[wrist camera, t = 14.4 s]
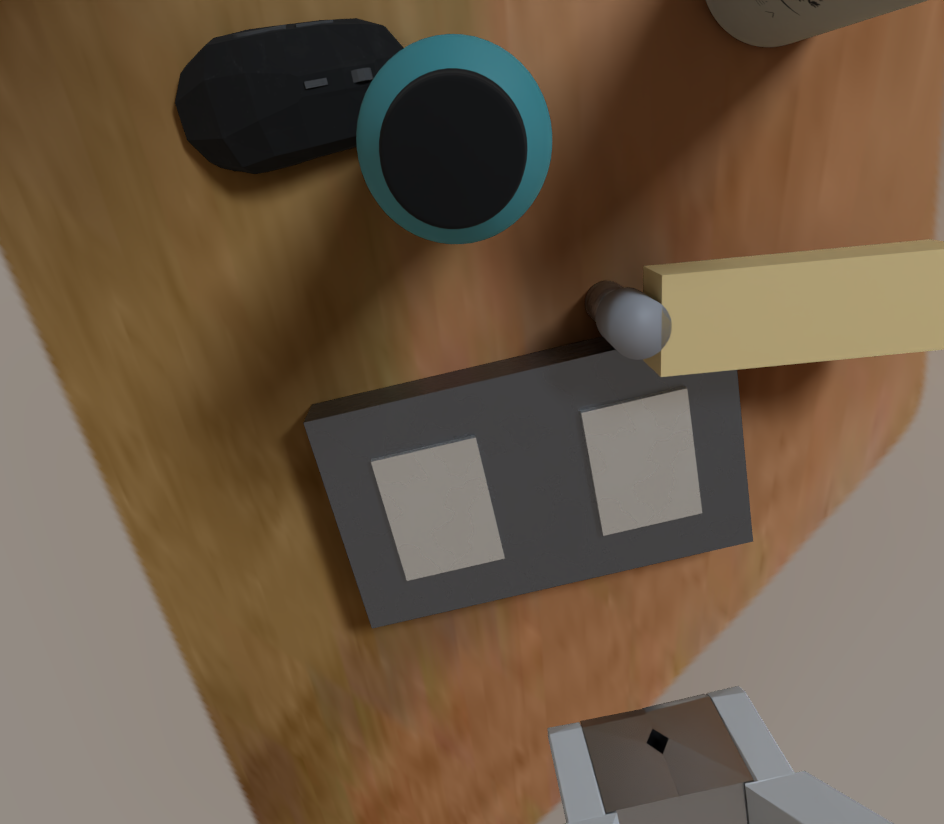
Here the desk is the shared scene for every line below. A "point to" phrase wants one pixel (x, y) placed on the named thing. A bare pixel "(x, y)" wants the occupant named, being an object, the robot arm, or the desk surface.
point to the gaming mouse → (280, 92)
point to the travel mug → (794, 17)
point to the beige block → (781, 308)
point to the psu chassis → (529, 475)
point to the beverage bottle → (454, 139)
